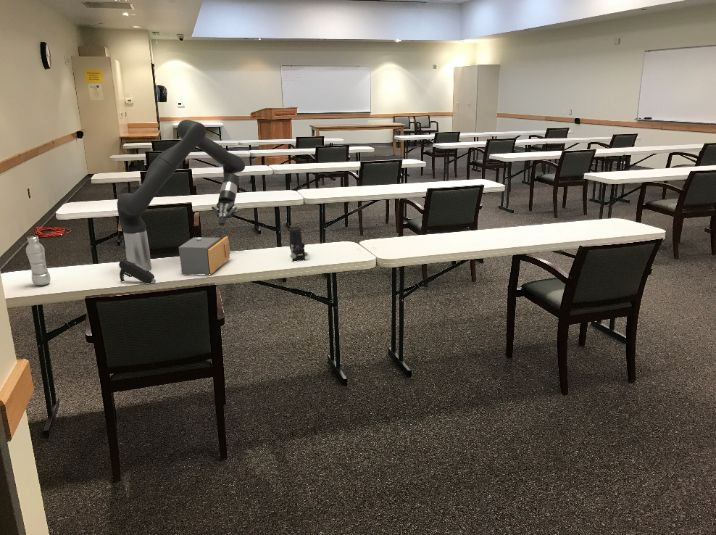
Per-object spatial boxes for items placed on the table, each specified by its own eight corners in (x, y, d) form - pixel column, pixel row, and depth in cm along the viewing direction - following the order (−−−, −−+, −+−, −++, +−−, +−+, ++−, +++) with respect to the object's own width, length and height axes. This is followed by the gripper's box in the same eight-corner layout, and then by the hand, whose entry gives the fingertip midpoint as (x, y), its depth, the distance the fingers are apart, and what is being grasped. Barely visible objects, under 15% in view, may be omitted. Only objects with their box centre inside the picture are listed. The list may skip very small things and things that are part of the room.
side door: (210, 273, 233) (207, 250, 230) (227, 257, 254) (225, 236, 251) (213, 273, 233) (211, 250, 230) (231, 257, 254) (229, 236, 251)
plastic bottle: (44, 287, 222) (34, 239, 216) (29, 287, 223) (19, 238, 217) (55, 282, 228) (46, 234, 222) (40, 281, 229) (30, 234, 223)
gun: (147, 297, 226) (155, 277, 223) (113, 278, 227) (120, 257, 223) (151, 294, 229) (158, 274, 225) (117, 275, 229) (124, 255, 226)
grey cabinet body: (178, 274, 235) (174, 245, 231) (193, 263, 250) (190, 235, 246) (209, 275, 234) (206, 245, 230) (222, 263, 249) (220, 235, 245)
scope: (289, 232, 245) (283, 227, 254) (291, 262, 249) (285, 256, 258) (307, 230, 248) (301, 225, 257) (308, 259, 252) (302, 254, 261)
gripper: (212, 189, 263) (204, 220, 255) (239, 189, 262) (232, 220, 254) (217, 198, 270) (210, 229, 262) (243, 198, 268) (237, 229, 261)
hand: (221, 224), depth 258 cm, fingers closed
